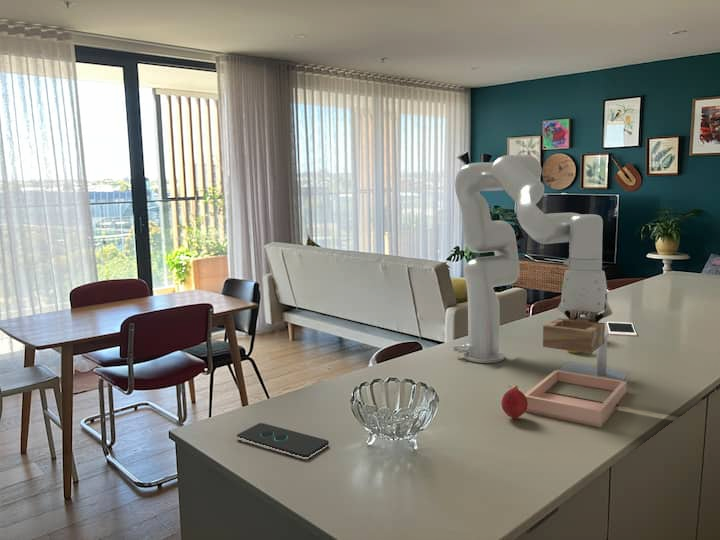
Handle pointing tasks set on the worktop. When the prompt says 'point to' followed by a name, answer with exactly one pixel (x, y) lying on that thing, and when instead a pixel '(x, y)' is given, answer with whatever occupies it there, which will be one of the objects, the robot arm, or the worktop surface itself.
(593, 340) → the wooden bar frame
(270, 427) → the slab with cyan rings
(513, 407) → the onion
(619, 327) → the cell phone
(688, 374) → the worktop surface
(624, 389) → the tray
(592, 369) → the stand
